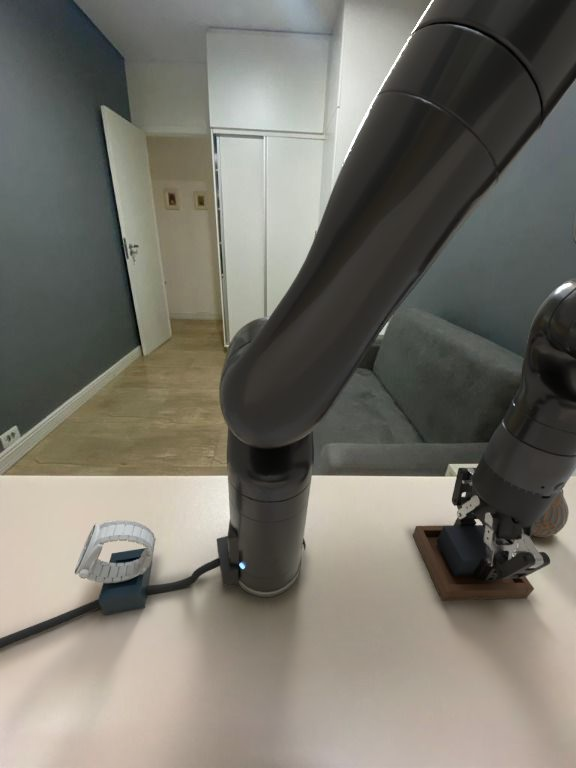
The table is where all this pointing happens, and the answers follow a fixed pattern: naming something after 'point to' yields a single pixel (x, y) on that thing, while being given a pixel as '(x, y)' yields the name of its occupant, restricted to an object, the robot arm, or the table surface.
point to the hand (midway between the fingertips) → (470, 555)
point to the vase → (552, 518)
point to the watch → (118, 565)
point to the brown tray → (463, 585)
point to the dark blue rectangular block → (463, 548)
